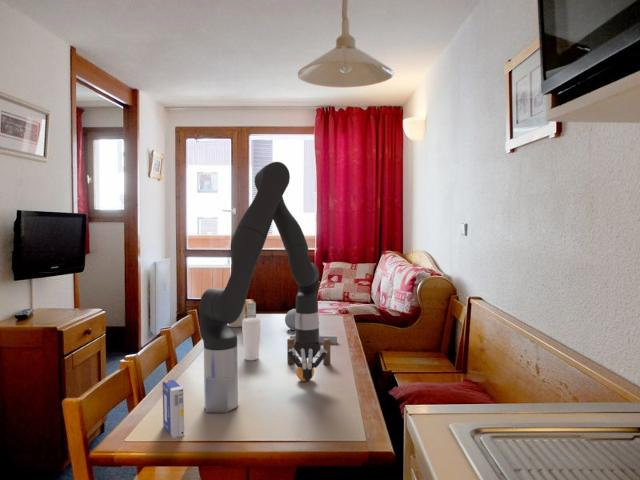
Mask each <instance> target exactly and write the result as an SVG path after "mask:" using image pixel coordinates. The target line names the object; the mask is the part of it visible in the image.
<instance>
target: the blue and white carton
mask: <svg viewBox="0 0 640 480" xmlns="http://www.w3.org/2000/svg"><path fill="white" fill-rule="evenodd" d="M184 401H185V399H184V387H183V386H182V385H180V384H179V383H178V382H177V381H176V380H175V379H170V380H164V381H162V420H163V421H162V425H163V427H164V429H165V430H166V431H167V433H168V434H169V435H170V436H171V437H172V439H176V438H180V437H183V436H185V403H184Z"/></svg>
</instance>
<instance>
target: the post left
mask: <svg viewBox="0 0 640 480" xmlns="http://www.w3.org/2000/svg"><path fill="white" fill-rule="evenodd" d="M286 340H287V343H286V346H287V347H286V348H287V349H286V350H287V356H286V357H287V360H286V361H287V365H296V364H295V363H294V362H293V360H292V359H291V358H290V356H289V355H288V351H289V350H290V349H292V348H294V345H295V343H294V339H293V338H290V337H289V338H287V339H286Z"/></svg>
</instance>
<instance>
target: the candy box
mask: <svg viewBox="0 0 640 480" xmlns="http://www.w3.org/2000/svg"><path fill="white" fill-rule="evenodd" d="M244 305H245V318H257V303H256V301H254V299H252V298H251V299H250V298H249V299H246V300H245V304H244Z"/></svg>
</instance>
